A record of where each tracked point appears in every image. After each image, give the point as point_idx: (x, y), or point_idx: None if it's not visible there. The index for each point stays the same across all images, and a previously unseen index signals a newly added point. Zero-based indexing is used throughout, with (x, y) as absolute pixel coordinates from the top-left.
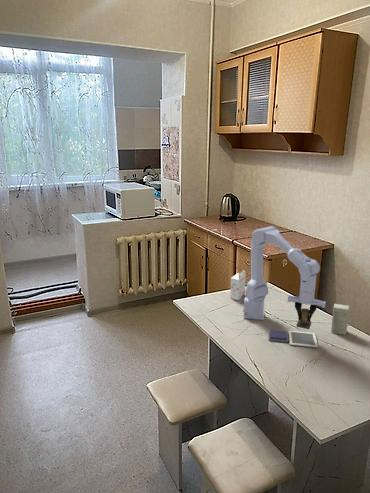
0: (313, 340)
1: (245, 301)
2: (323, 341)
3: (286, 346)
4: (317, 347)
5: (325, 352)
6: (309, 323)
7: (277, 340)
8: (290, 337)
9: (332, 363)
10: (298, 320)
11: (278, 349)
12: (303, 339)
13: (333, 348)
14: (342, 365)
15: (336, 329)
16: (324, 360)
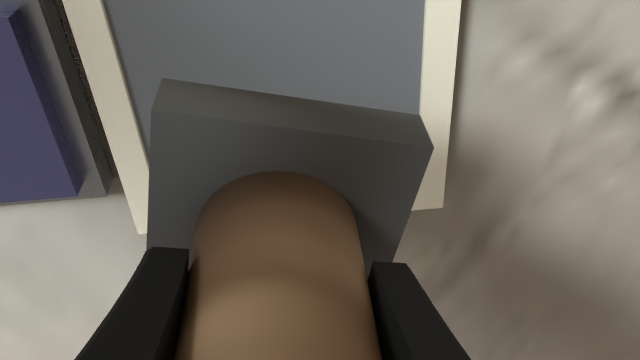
0: (414, 83)
1: None
2: (543, 37)
3: (112, 244)
4: (435, 202)
5: (498, 238)
6: (380, 235)
7: None
8: (113, 103)
9: (510, 349)
10: (150, 188)
11: (51, 303)
12: (287, 93)
13: (608, 155)
14: (579, 350)
15: None
16: (456, 334)
